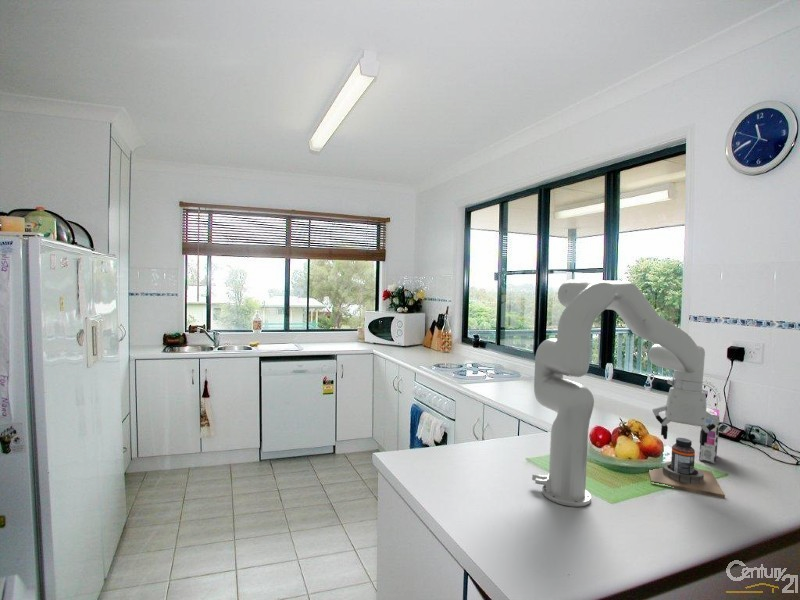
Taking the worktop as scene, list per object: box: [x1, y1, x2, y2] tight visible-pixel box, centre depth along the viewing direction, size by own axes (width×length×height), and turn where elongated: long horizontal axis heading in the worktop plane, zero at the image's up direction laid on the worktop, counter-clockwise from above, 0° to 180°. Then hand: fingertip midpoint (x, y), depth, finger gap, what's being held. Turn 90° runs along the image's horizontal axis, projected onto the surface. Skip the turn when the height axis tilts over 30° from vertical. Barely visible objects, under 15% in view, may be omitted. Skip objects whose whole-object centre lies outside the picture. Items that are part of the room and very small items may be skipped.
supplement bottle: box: [670, 437, 696, 475], centre depth 136 cm, size 6×6×11 cm
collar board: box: [648, 464, 726, 499], centre depth 136 cm, size 18×18×3 cm
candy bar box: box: [698, 407, 720, 464], centre depth 155 cm, size 11×5×16 cm, turn 145°
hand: (683, 441), depth 135 cm, fingers open, 9 cm apart
